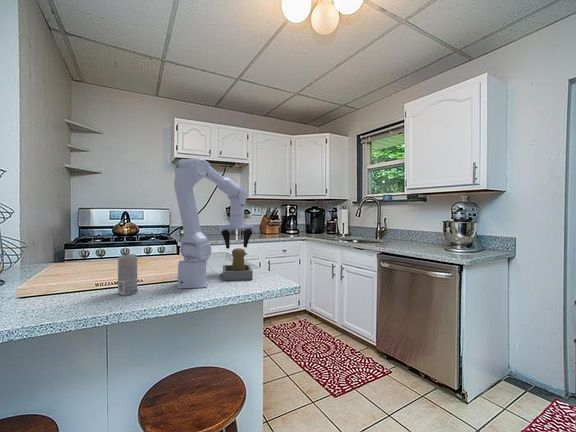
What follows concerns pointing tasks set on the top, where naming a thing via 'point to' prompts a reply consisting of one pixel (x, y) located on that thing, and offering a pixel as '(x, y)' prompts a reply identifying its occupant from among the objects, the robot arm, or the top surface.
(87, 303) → the top surface
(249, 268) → the box
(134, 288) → the energy drink
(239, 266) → the cork
